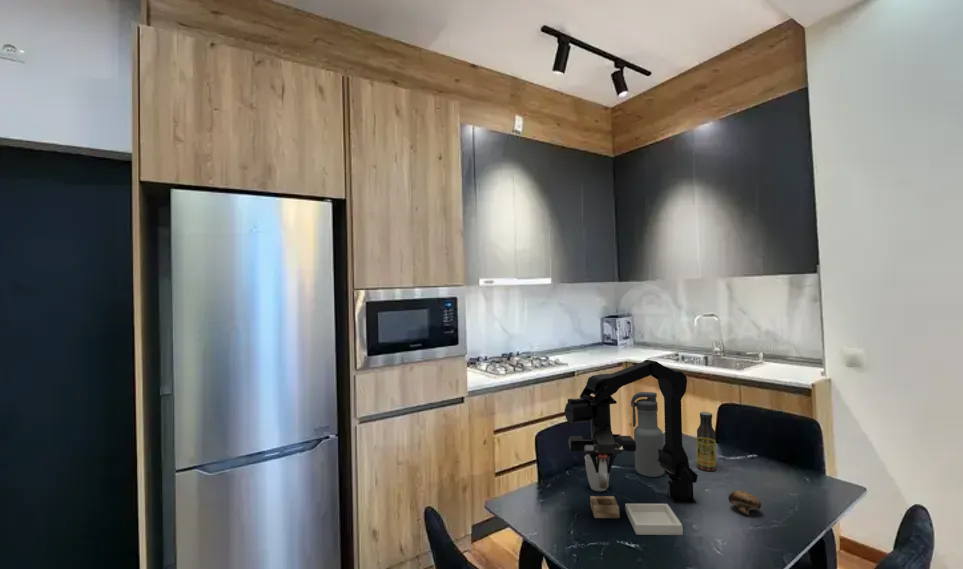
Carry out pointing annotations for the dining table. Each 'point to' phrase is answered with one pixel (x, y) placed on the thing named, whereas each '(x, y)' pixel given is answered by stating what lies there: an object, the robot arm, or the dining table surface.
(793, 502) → the dining table surface
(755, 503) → the mushroom
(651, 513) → the tray
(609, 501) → the block
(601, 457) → the red capped tube
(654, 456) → the water bottle
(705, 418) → the sauce bottle
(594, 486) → the cup
